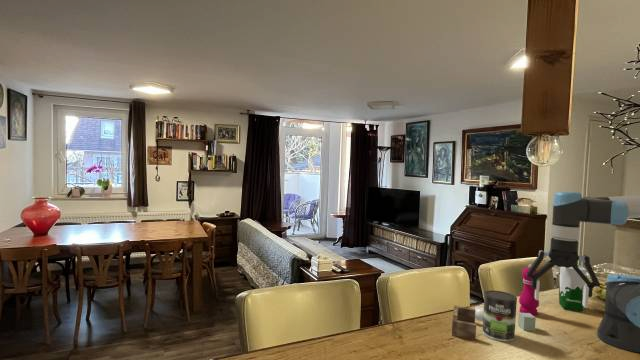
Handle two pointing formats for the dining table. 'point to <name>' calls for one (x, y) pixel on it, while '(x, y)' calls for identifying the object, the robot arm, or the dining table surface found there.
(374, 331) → the dining table surface
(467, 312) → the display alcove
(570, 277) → the milk carton
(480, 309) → the white glossy round part
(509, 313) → the coffee can
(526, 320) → the sage block
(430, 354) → the dining table surface
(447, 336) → the dining table surface
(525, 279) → the pepper mill
